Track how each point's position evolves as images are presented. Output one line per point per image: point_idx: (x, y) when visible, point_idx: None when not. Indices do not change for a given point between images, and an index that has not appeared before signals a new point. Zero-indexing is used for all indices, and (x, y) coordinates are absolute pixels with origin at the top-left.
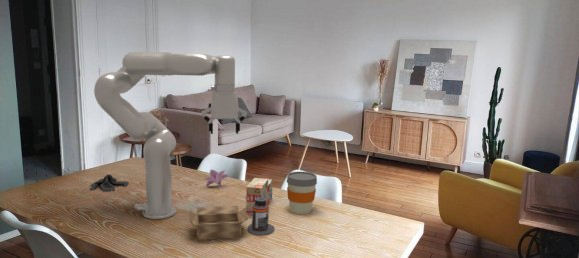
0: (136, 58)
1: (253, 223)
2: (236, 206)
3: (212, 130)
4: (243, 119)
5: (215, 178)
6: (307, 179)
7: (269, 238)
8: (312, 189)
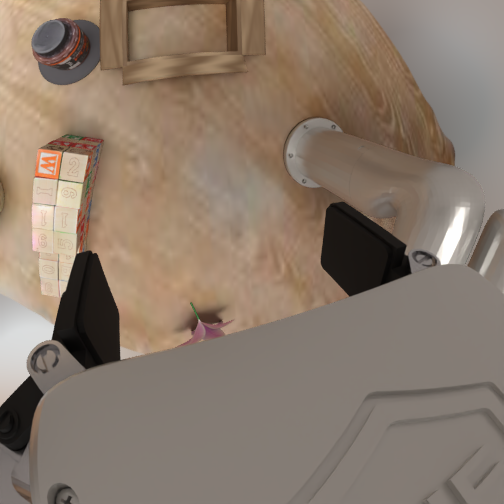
0: None
1: (86, 35)
2: (126, 81)
3: (347, 217)
4: (5, 403)
5: (206, 327)
6: None
7: (59, 11)
8: None
